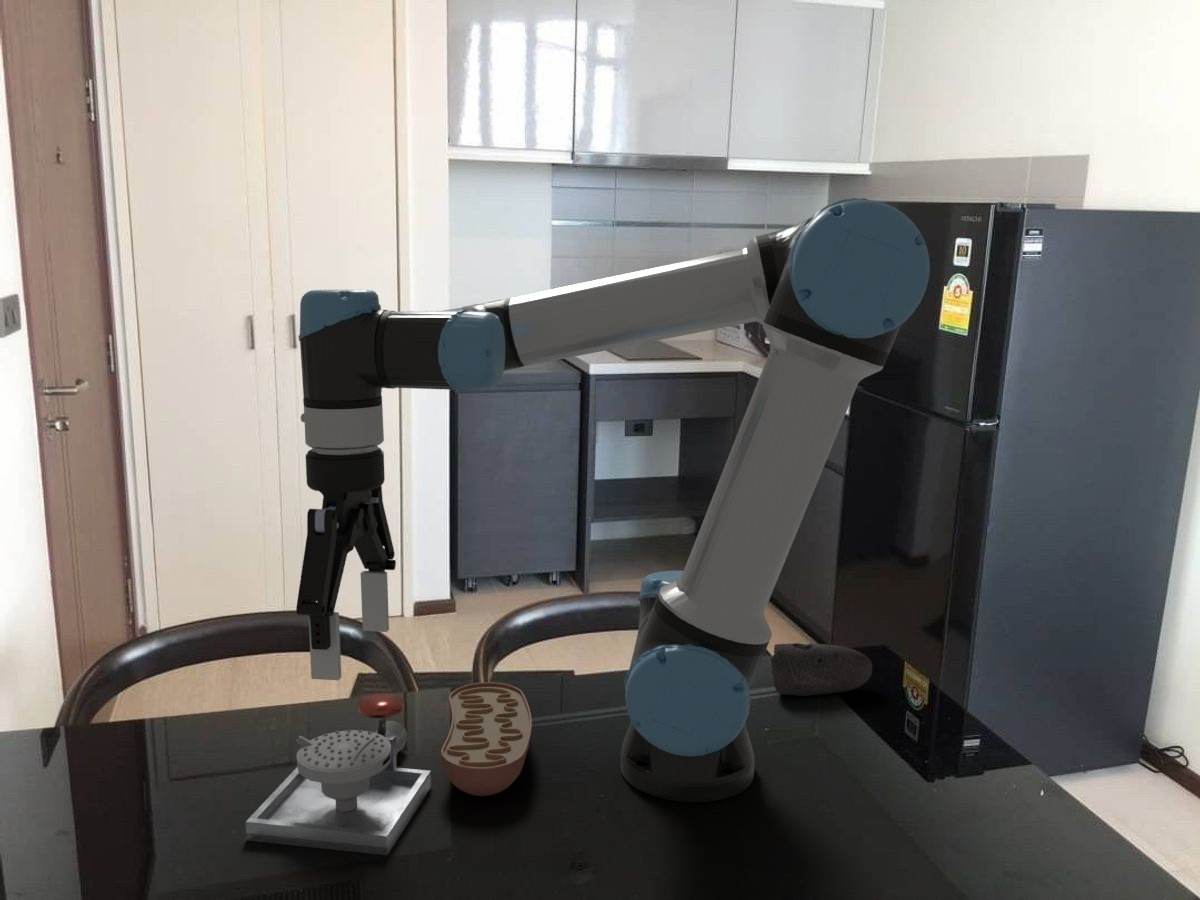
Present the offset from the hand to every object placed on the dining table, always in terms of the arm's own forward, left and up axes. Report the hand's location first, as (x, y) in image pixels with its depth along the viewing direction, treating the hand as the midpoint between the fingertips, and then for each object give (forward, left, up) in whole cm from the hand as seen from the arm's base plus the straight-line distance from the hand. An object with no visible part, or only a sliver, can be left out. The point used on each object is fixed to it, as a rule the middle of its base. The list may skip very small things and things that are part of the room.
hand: (352, 653), depth 106 cm
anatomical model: (-11, -13, -18) cm, 24 cm away
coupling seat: (+1, -3, -17) cm, 17 cm away
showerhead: (+1, +1, -16) cm, 16 cm away
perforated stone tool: (-50, -41, -17) cm, 67 cm away
